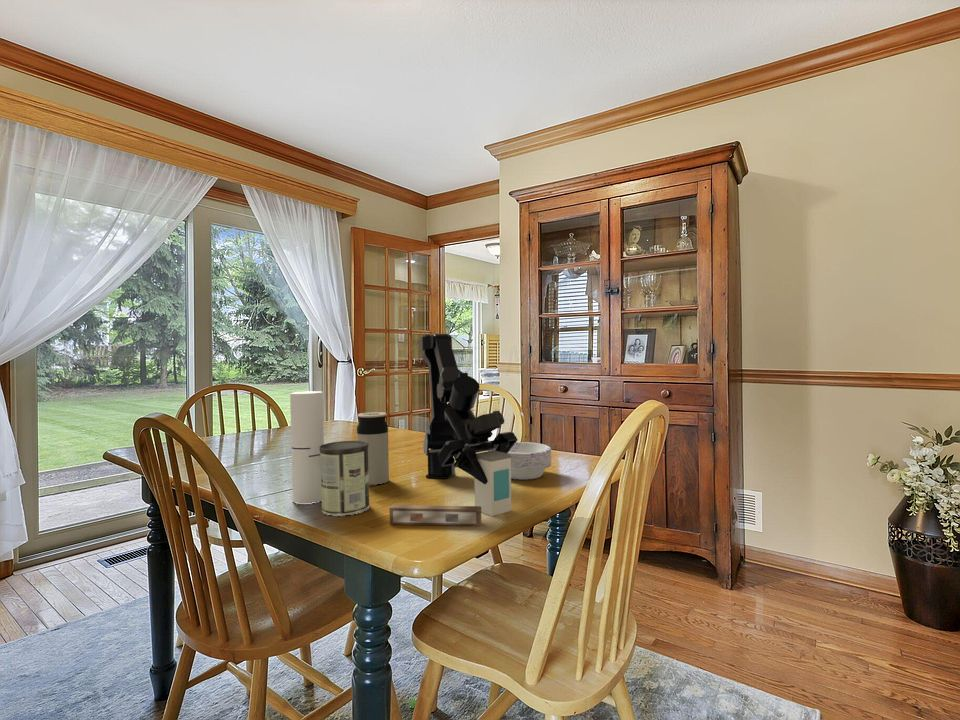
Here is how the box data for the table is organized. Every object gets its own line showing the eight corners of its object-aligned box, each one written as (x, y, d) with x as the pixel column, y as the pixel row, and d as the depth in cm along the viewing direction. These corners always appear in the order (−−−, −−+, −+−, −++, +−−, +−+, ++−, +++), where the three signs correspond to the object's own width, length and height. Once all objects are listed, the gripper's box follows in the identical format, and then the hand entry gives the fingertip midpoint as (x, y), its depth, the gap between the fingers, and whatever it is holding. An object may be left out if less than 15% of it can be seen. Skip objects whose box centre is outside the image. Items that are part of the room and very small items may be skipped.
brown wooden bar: (388, 525, 98) (388, 508, 98) (392, 520, 101) (392, 504, 101) (480, 527, 96) (479, 510, 96) (481, 522, 99) (481, 506, 99)
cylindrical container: (294, 497, 119) (292, 391, 118) (326, 494, 120) (323, 390, 120) (290, 506, 112) (287, 394, 111) (323, 503, 113) (321, 393, 113)
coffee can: (342, 500, 116) (341, 439, 115) (379, 505, 111) (378, 442, 111) (310, 513, 106) (308, 447, 106) (349, 519, 102) (347, 450, 102)
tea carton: (475, 509, 107) (474, 453, 106) (494, 504, 110) (493, 450, 110) (492, 516, 102) (491, 458, 102) (512, 510, 106) (511, 454, 105)
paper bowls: (546, 484, 126) (546, 453, 126) (488, 481, 130) (488, 451, 130) (555, 470, 140) (555, 442, 140) (503, 468, 145) (502, 440, 145)
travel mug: (363, 487, 126) (361, 416, 126) (354, 481, 133) (352, 413, 132) (393, 483, 130) (392, 414, 130) (383, 476, 137) (381, 411, 136)
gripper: (444, 402, 103) (478, 464, 95) (511, 396, 115) (547, 451, 106) (424, 436, 109) (455, 497, 101) (489, 427, 121) (522, 481, 113)
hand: (496, 480), depth 105 cm, fingers closed on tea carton, 5 cm apart
